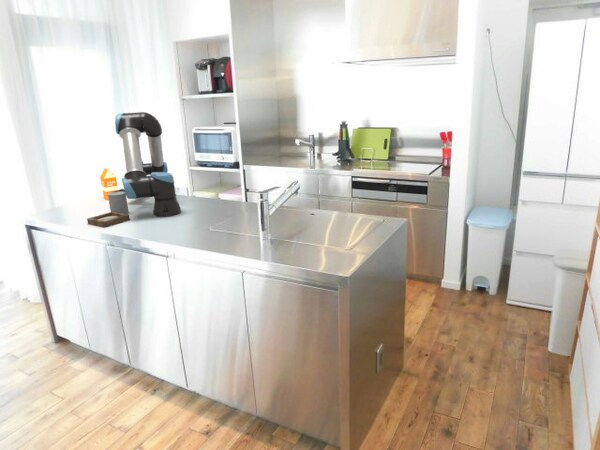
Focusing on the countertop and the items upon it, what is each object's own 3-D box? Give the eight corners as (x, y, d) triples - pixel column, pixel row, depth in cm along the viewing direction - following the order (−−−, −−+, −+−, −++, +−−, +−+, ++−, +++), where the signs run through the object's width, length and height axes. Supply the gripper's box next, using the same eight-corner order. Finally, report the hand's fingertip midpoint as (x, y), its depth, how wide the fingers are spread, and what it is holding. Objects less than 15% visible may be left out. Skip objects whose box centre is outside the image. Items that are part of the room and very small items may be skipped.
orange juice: (115, 196, 285) (110, 167, 279) (119, 198, 279) (114, 168, 273) (103, 198, 280) (98, 168, 274) (107, 200, 274) (102, 170, 268)
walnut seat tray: (130, 220, 226) (129, 214, 225) (104, 227, 214) (103, 222, 213) (113, 216, 234) (112, 211, 233) (88, 224, 222) (86, 218, 221)
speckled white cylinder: (132, 211, 243) (128, 191, 240) (123, 216, 234) (120, 195, 230) (116, 211, 244) (113, 191, 241) (107, 216, 235) (103, 195, 231)
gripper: (156, 193, 268) (146, 201, 248) (117, 194, 267) (103, 203, 247) (154, 181, 266) (144, 189, 245) (114, 183, 265) (101, 191, 245)
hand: (123, 196), depth 246 cm, fingers open, 13 cm apart
